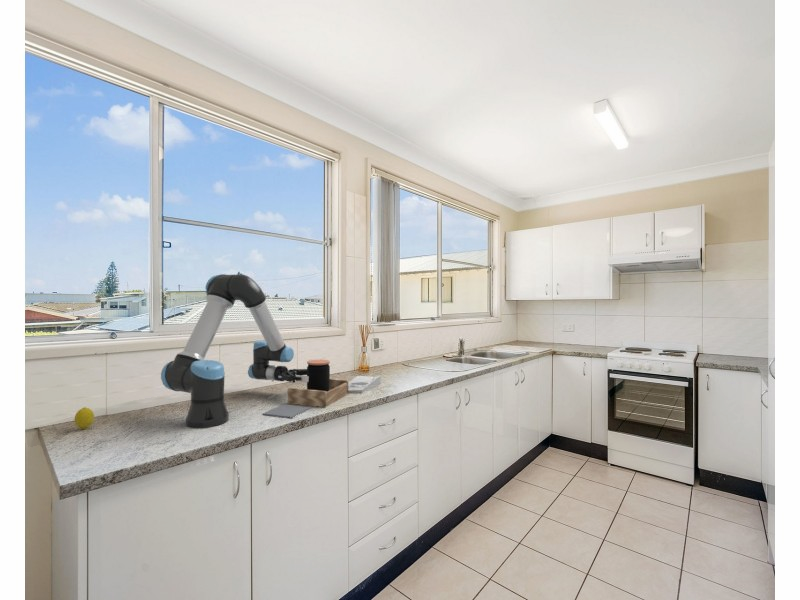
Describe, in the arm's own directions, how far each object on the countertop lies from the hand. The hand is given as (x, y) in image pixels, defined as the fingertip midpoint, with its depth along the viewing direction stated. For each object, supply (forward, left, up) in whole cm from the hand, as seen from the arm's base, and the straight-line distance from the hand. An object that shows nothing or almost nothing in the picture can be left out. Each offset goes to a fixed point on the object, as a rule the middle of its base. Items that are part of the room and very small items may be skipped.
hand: (315, 376), depth 187 cm
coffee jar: (-1, -2, -11) cm, 11 cm away
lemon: (-66, +58, -11) cm, 88 cm away
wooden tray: (-1, -2, -11) cm, 11 cm away
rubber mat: (-24, 0, -11) cm, 26 cm away
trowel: (+24, -14, -11) cm, 30 cm away
